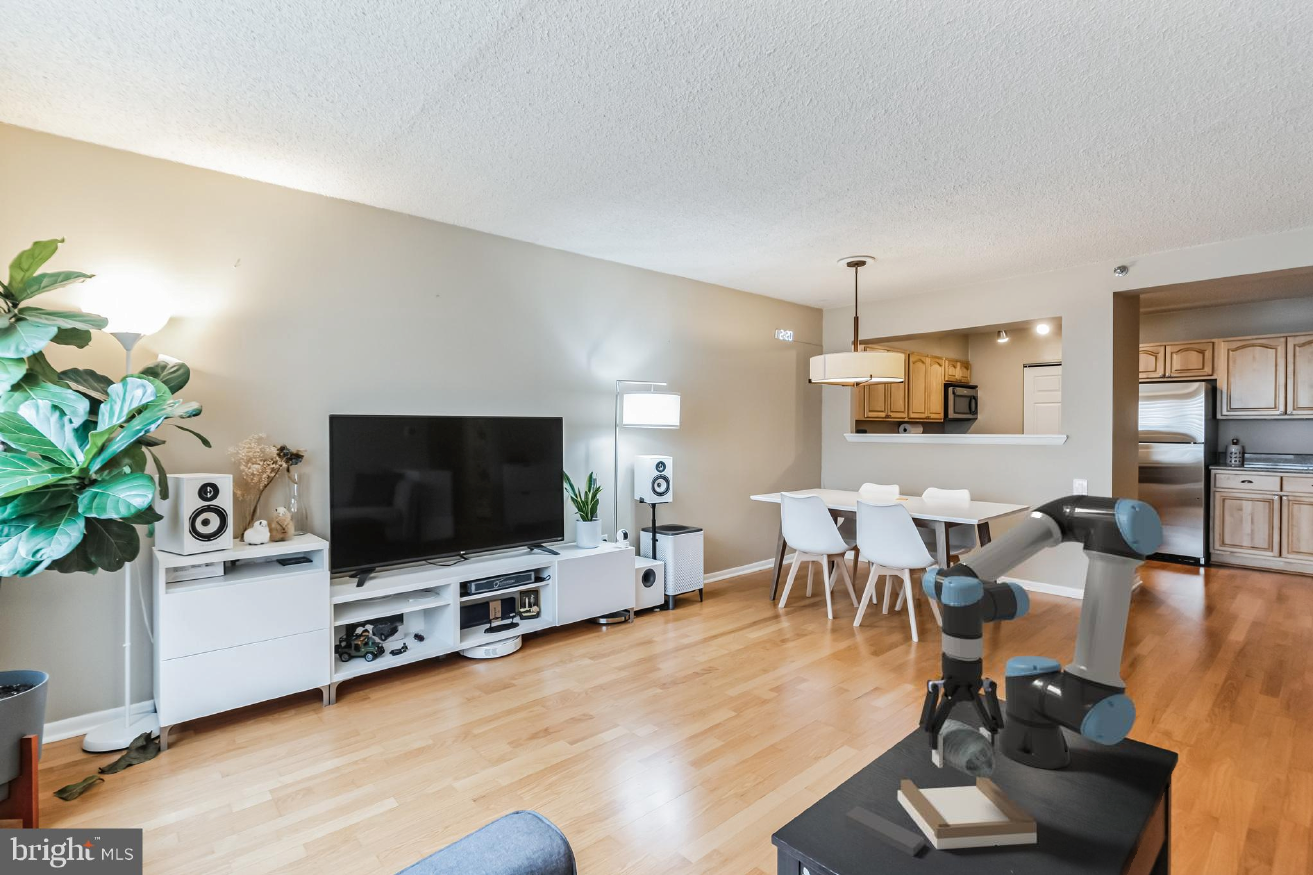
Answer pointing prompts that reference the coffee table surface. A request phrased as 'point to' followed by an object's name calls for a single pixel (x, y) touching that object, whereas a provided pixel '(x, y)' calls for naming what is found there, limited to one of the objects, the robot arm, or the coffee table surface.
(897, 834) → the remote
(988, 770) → the grey streaked oval piece
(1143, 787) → the coffee table surface
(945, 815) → the shelf bay
